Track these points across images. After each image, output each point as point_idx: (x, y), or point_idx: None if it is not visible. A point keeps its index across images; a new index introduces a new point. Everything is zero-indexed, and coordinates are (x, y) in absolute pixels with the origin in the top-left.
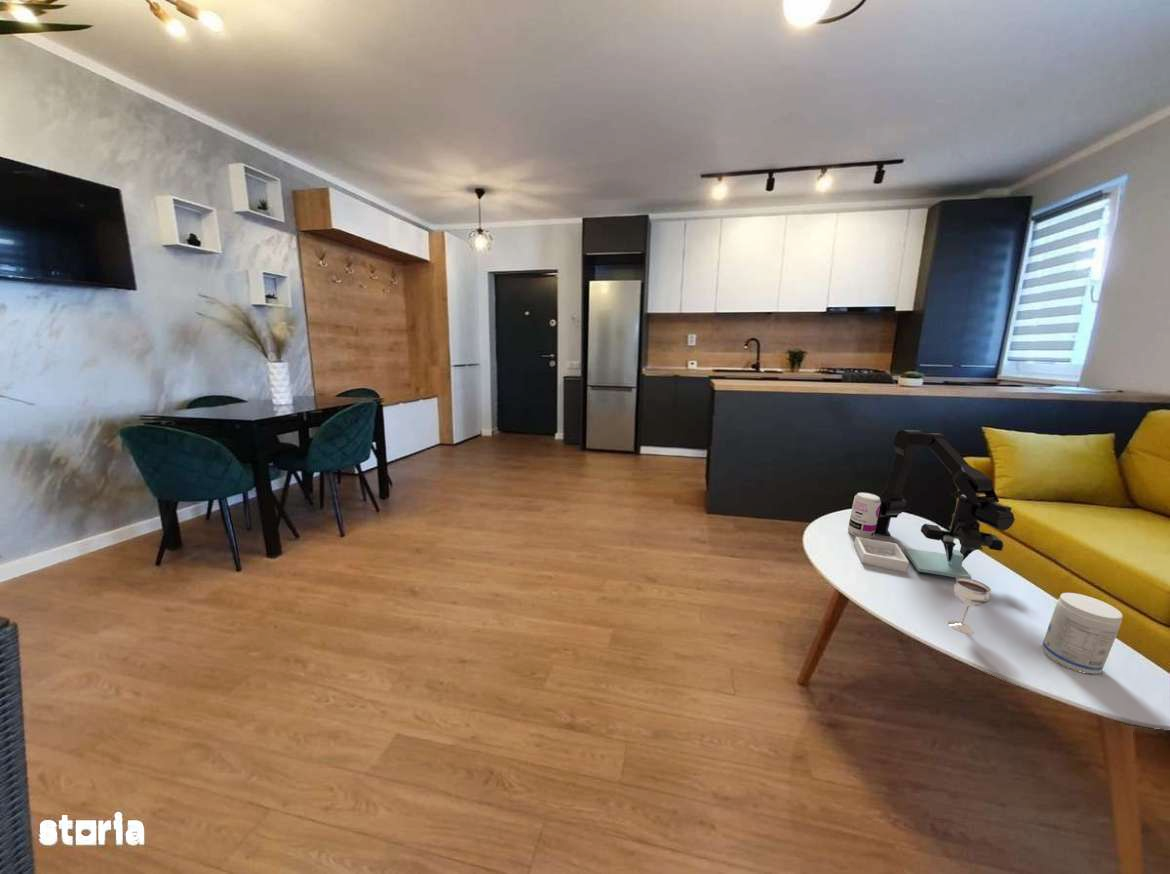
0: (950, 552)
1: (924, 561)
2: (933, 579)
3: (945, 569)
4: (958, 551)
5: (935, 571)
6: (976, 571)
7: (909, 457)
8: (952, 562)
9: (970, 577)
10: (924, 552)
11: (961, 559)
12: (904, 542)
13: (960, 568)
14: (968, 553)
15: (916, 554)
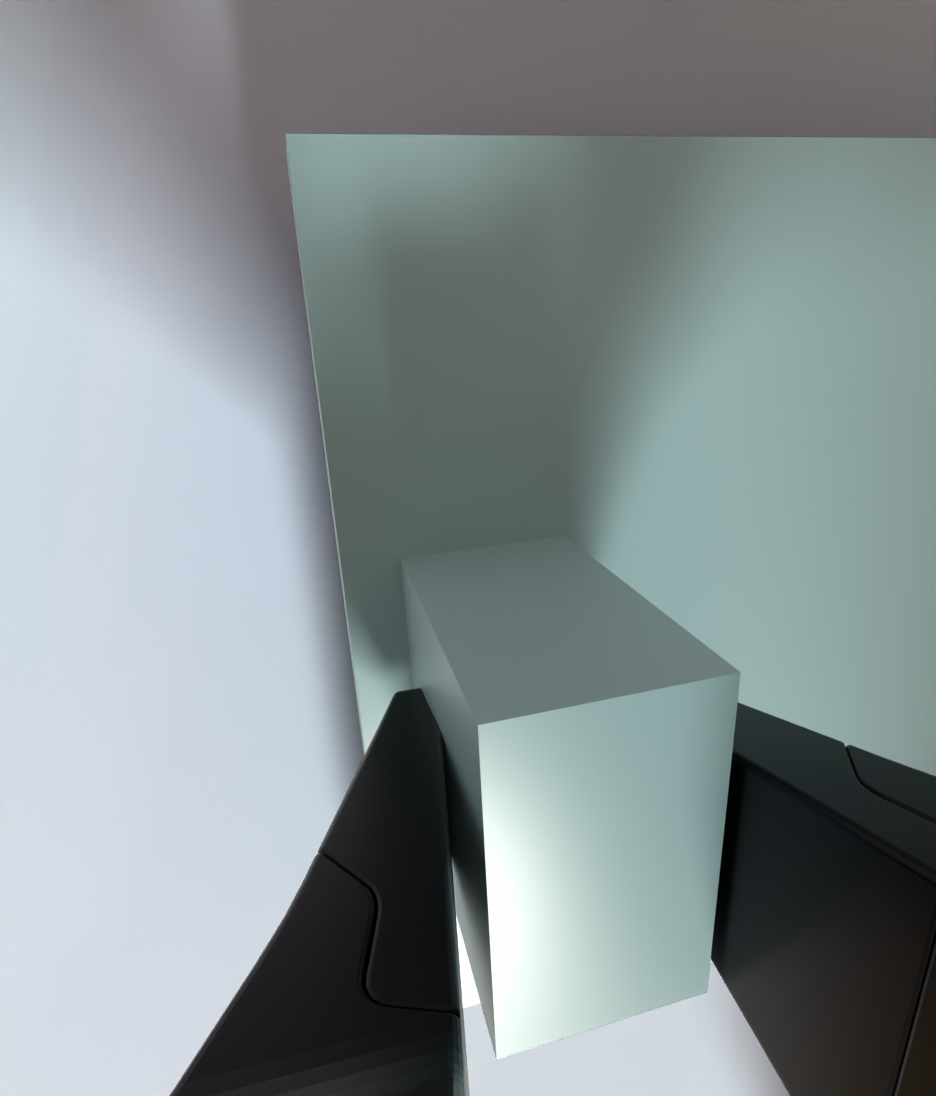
0: (798, 755)
1: (931, 517)
2: (829, 128)
3: (725, 320)
4: (524, 976)
5: (926, 145)
6: (65, 845)
7: None
8: (602, 570)
9: (305, 142)
10: None
11: (483, 644)
12: (740, 1084)
13: (418, 527)
14: (330, 916)
15: (925, 725)
